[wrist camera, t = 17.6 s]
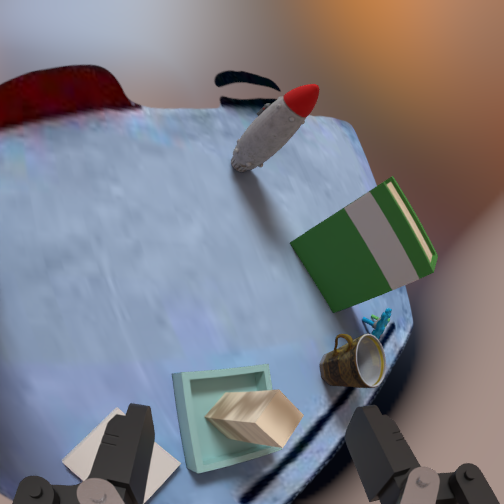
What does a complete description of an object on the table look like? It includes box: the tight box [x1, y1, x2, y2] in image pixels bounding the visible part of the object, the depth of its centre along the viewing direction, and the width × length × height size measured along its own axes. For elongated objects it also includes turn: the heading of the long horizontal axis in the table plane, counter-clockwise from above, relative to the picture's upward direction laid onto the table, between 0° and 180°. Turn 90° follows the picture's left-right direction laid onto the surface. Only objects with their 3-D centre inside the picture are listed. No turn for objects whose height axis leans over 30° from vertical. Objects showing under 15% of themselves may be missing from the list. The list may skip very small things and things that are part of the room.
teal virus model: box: [362, 308, 392, 340], centre depth 66 cm, size 11×6×10 cm
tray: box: [172, 364, 282, 473], centre depth 38 cm, size 14×14×4 cm
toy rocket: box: [231, 84, 319, 172], centre depth 54 cm, size 8×8×25 cm
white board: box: [62, 407, 181, 504], centre depth 27 cm, size 11×11×2 cm
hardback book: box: [290, 176, 438, 313], centre depth 56 cm, size 18×7×24 cm, turn 41°
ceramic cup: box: [320, 334, 386, 388], centre depth 51 cm, size 13×10×10 cm
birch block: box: [204, 390, 304, 448], centre depth 34 cm, size 5×5×12 cm
